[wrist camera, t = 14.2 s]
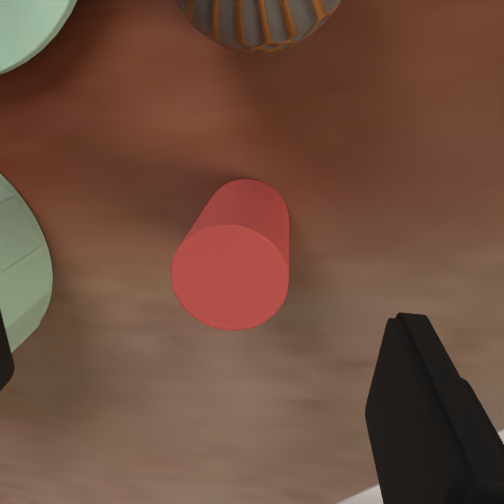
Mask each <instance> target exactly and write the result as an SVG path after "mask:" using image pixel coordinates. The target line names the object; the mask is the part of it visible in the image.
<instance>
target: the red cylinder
mask: <svg viewBox="0 0 504 504" xmlns="http://www.w3.org/2000/svg"><path fill="white" fill-rule="evenodd" d="M171 283H172V287H173V290H174V293H175V295H176V297H177V299H178V301H179V302H180V304H181V305H182V306H183V308H184V309H185V310H186V311H187V312H188V313H189V314H190V315H192V316H193V317H194V318H196V319H197V320H199V321H200V322H202V323H204V324H206V325H209V326H211V327H214V328H218V329H223V330H244V329H249V328H252V327H255V326H257V325H260V324H262V323H263V322H265V321H267V320H268V319H269V318H271V317H272V316H273V315H274V314H275V313H276V312H277V311H278V310H279V308H280V307H281V306H282V304H283V302H284V300H285V297H286V295H287V291H288V284H289V213H288V209H287V206H286V204H285V202H284V200H283V198H282V197H281V196H280V194H279V193H278V192H277V191H276V190H275V189H273V188H272V187H271V186H269V185H268V184H266V183H263V182H261V181H258V180H253V179H239V180H235V181H232V182H229V183H227V184H225V185H223V186H222V187H221V188H219V189H218V190H217V191H216V192H215V194H214V195H213V196H212V198H211V199H210V201H209V202H208V204H207V205H206V207H205V208H204V210H203V211H202V213H201V214H200V216H199V217H198V219H197V220H196V222H195V223H194V225H193V226H192V228H191V229H190V231H189V232H188V234H187V235H186V237H185V238H184V240H183V241H182V243H181V244H180V246H179V247H178V249H177V251H176V253H175V254H174V257H173V260H172V264H171Z"/></svg>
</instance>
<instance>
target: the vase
mask: <svg viewBox="0 0 504 504" xmlns="http://www.w3.org/2000/svg"><path fill="white" fill-rule="evenodd" d="M341 1H342V0H173V2H174V3H175V5H176V6H177V8H178V9H179V11H180V12H181V13H182V14H183V16H184V17H185V18H186V19H187V20H188V21H189V22H190V23H191V24H192V25H193V26H194V27H195V28H196V29H197V30H198V31H200V32H201V33H202V34H203V35H205V36H206V37H208V38H209V39H211V40H212V41H214V42H216V43H218V44H220V45H222V46H224V47H227V48H229V49H233V50H236V51H240V52H245V53H270V52H276V51H279V50H283V49H286V48H289V47H291V46H293V45H295V44H297V43H299V42H301V41H303V40H304V39H306V38H307V37H309V36H310V35H311V34H313V33H314V32H315V31H316V30H318V29H319V28H320V27H321V26H322V25H323V24H324V23H325V22H326V21H327V20H328V18H329V17H330V16H331V15H332V14H333V12H334V11H335V10H336V8H337V7H338V6H339V4H340V3H341Z"/></svg>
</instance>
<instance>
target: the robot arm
mask: <svg viewBox="0 0 504 504" xmlns="http://www.w3.org/2000/svg"><path fill="white" fill-rule="evenodd" d="M13 373H14V362H13V358H12V354H11V350H10V346H9V342H8V338H7V334H6V330H5V326H4V322H3V318H2V314H1V309H0V391H1V390H2V389H3V387H4V386H5V385H6V384H7V383H8V382H9V381H10V379H11V377H12V375H13ZM365 417H366V424H367V429H368V433H369V438H370V443H371V447H372V452H373V457H374V461H375V466H376V471H377V475H378V480H379V485H380V489H381V494H382V498H383V503H384V504H504V444H503V442H502V441H501V439H500V437H499V435H498V433H497V432H496V430H495V428H494V426H493V424H492V423H491V421H490V419H489V417H488V416H487V414H486V412H485V410H484V409H483V407H482V405H481V403H480V401H479V400H478V398H477V396H476V394H475V393H474V391H473V389H472V387H471V386H470V385H469V383H468V382H467V381H466V380H464V379H463V378H461V377H460V376H459V374H458V372H457V370H456V368H455V366H454V365H453V363H452V361H451V359H450V357H449V356H448V354H447V352H446V350H445V348H444V346H443V345H442V343H441V341H440V339H439V337H438V335H437V334H436V332H435V330H434V328H433V326H432V325H431V323H430V321H429V319H428V318H427V316H426V315H420V314H410V313H398V314H397V316H396V318H389V319H388V321H387V324H386V328H385V332H384V336H383V340H382V344H381V347H380V351H379V355H378V359H377V363H376V367H375V371H374V375H373V379H372V383H371V387H370V391H369V395H368V399H367V403H366V409H365Z"/></svg>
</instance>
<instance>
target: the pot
mask: <svg viewBox="0 0 504 504" xmlns="http://www.w3.org/2000/svg"><path fill="white" fill-rule="evenodd" d="M52 285H53V273H52V263H51V258H50V253H49V249H48V246H47V243H46V240H45V238H44V235H43V232H42V230H41V228H40V226H39V224H38V222H37V220H36V218H35V216H34V215H33V213H32V212H31V210H30V208H29V207H28V205H27V204H26V202H25V201H24V200H23V198H22V197H21V196H20V194H19V193H18V192H17V191H16V189H15V188H14V187H13V186H12V185H11V184H10V183H9V182H8V181H7V180H6V179H5V178H4V176H3V175H2V174H1V173H0V309H1V314H2V318H3V322H4V326H5V330H6V334H7V338H8V342H9V346H10V350H11V353H12V352H13V351H14V350H15V349H16V348H17V347H18V346H19V345H20V344H21V343H22V342H23V341H24V340H25V339H27V338H28V337H29V336H30V335H31V334H32V333H33V332H34V331H35V330H36V329H37V328H38V326H39V324H40V322H41V320H42V319H43V317H44V315H45V313H46V311H47V308H48V306H49V303H50V298H51V294H52Z"/></svg>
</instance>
